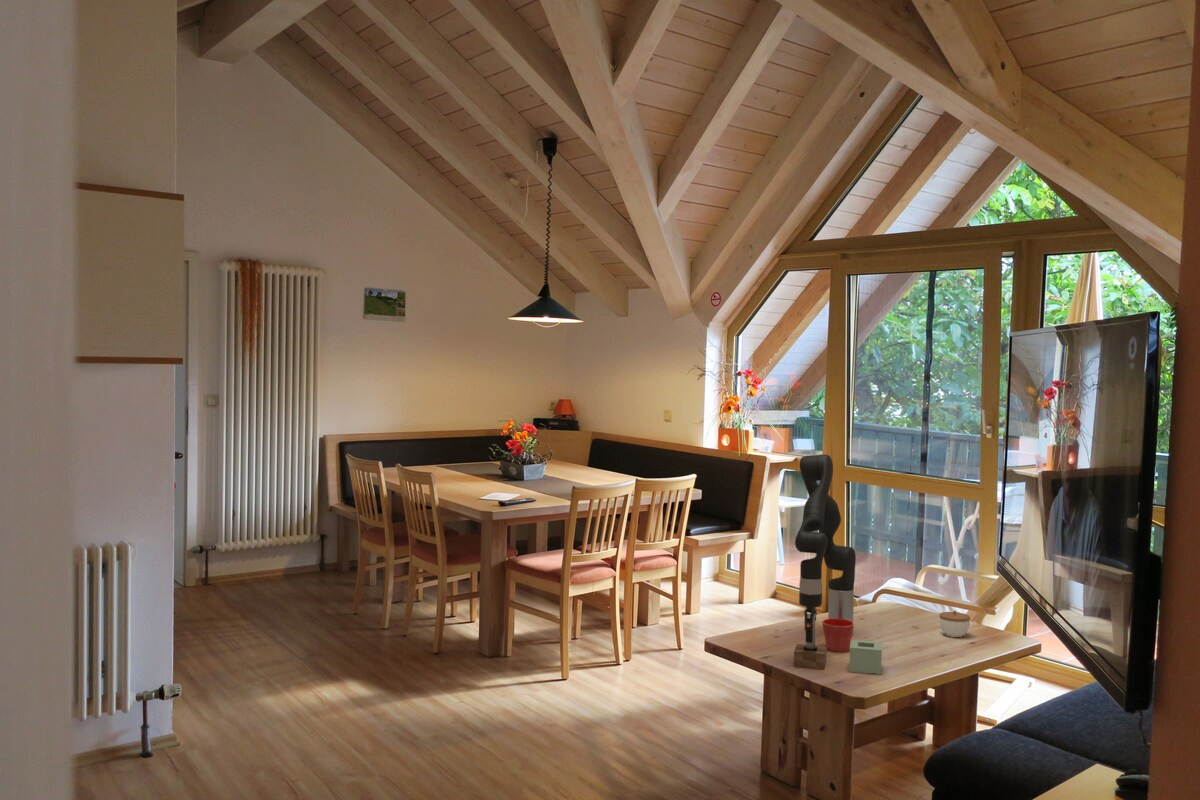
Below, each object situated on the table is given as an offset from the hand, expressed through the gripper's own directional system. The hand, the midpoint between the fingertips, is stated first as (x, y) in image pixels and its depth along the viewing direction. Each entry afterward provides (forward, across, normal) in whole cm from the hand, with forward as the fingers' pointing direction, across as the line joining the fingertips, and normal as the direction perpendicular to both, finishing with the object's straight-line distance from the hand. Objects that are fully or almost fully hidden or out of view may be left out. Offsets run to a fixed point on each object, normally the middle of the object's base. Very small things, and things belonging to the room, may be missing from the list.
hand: (810, 638), depth 319 cm
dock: (+8, 0, +18) cm, 20 cm away
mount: (+8, 0, 0) cm, 8 cm away
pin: (+8, 0, 0) cm, 9 cm away
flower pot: (+8, -21, +8) cm, 24 cm away
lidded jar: (+8, -53, +49) cm, 73 cm away
